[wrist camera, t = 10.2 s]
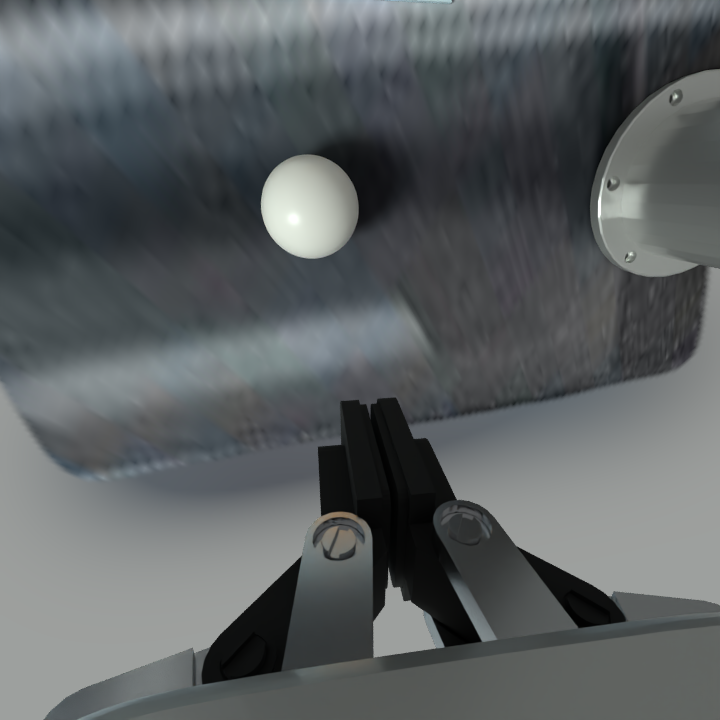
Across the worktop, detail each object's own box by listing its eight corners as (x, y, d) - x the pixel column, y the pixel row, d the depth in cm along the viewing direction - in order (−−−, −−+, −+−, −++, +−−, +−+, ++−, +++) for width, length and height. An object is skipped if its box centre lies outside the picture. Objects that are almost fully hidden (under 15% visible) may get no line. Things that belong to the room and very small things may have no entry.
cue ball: (364, 266, 21) (367, 232, 26) (344, 155, 18) (351, 138, 22) (269, 280, 22) (287, 245, 26) (233, 176, 19) (261, 156, 23)
